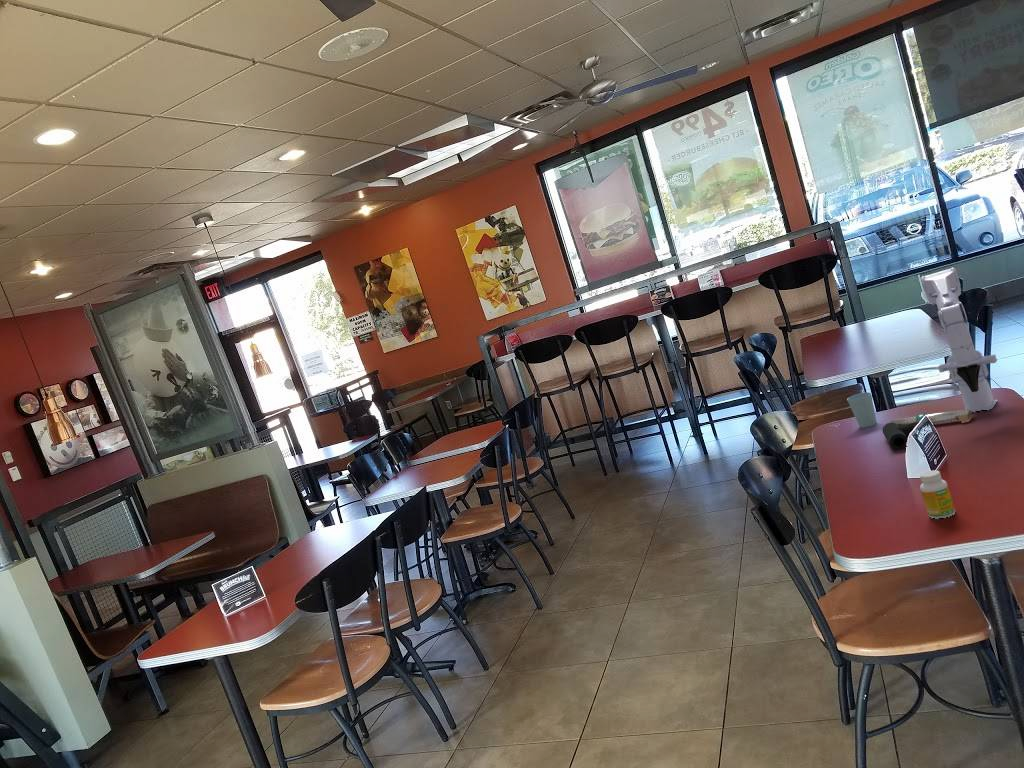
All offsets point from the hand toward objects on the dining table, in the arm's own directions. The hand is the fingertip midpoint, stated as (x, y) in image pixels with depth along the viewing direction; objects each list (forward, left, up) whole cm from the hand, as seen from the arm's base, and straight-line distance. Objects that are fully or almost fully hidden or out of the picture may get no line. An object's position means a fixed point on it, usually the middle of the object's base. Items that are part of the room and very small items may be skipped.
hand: (975, 391), depth 220 cm
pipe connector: (+7, -19, -10) cm, 23 cm away
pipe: (-6, -16, -10) cm, 20 cm away
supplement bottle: (+67, +6, -10) cm, 68 cm away
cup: (-17, -39, -10) cm, 44 cm away
